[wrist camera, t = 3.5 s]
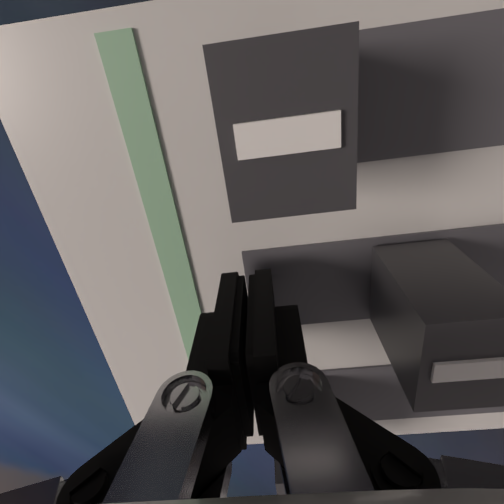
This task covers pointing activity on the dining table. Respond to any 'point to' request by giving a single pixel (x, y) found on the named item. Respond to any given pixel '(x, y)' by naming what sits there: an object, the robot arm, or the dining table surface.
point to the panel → (214, 188)
